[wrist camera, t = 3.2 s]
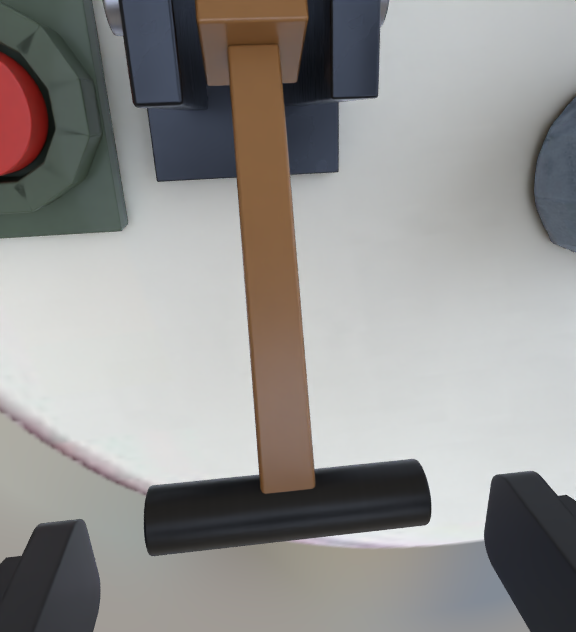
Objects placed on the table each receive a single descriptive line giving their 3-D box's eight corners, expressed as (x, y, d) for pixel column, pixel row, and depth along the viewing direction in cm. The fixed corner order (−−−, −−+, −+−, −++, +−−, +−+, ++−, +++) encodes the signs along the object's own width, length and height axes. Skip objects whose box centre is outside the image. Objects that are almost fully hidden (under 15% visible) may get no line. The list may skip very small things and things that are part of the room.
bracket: (333, 169, 23) (438, 227, 11) (160, 178, 23) (83, 249, 11) (332, -96, 19) (488, -416, 8) (124, -94, 19) (-57, -443, 7)
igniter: (-117, -27, 19) (-189, -56, 16) (87, -30, 19) (58, -59, 16) (-40, 234, 23) (-85, 254, 19) (128, 224, 23) (111, 242, 20)
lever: (405, 505, 12) (446, 545, 9) (163, 531, 11) (139, 581, 9) (356, -27, 12) (381, -117, 10) (127, -23, 12) (96, -115, 10)
